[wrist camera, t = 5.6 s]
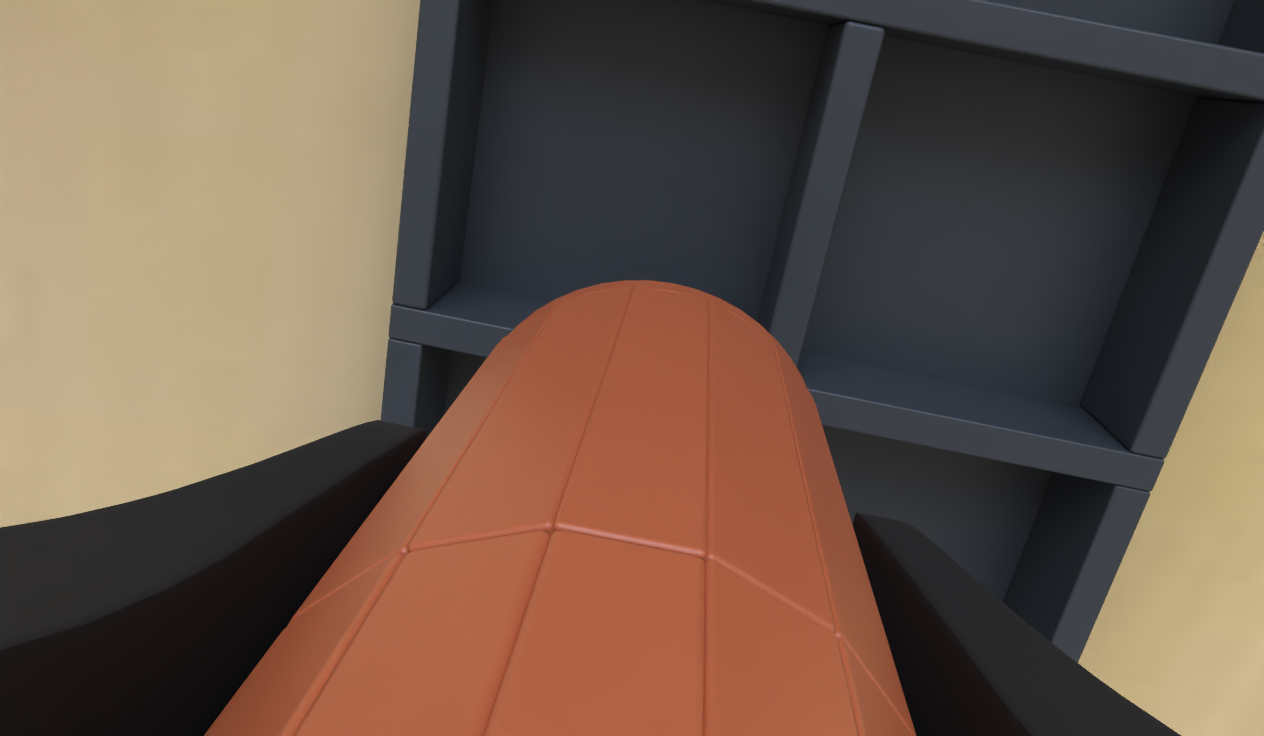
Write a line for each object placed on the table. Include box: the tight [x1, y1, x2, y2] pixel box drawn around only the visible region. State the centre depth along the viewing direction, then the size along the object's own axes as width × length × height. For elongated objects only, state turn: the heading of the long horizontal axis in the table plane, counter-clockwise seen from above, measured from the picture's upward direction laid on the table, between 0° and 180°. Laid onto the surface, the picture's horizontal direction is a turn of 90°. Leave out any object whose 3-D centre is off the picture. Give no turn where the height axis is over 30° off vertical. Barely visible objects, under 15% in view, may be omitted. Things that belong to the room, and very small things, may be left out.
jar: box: [204, 280, 916, 736], centre depth 9 cm, size 5×5×9 cm
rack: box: [381, 0, 1264, 663], centre depth 17 cm, size 22×15×3 cm
